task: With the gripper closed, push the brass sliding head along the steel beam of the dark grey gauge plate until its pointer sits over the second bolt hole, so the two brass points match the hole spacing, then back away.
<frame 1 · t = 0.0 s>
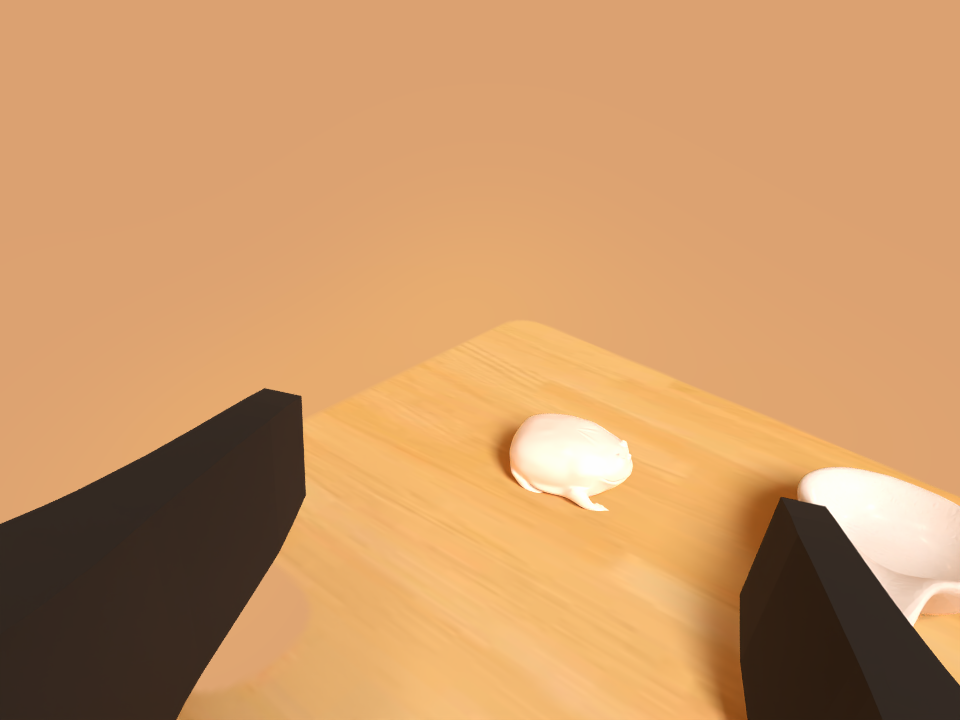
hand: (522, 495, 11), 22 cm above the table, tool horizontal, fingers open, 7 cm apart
spoon rest: (857, 630, 40), on the table
white rounded lump: (566, 479, 49), on the table
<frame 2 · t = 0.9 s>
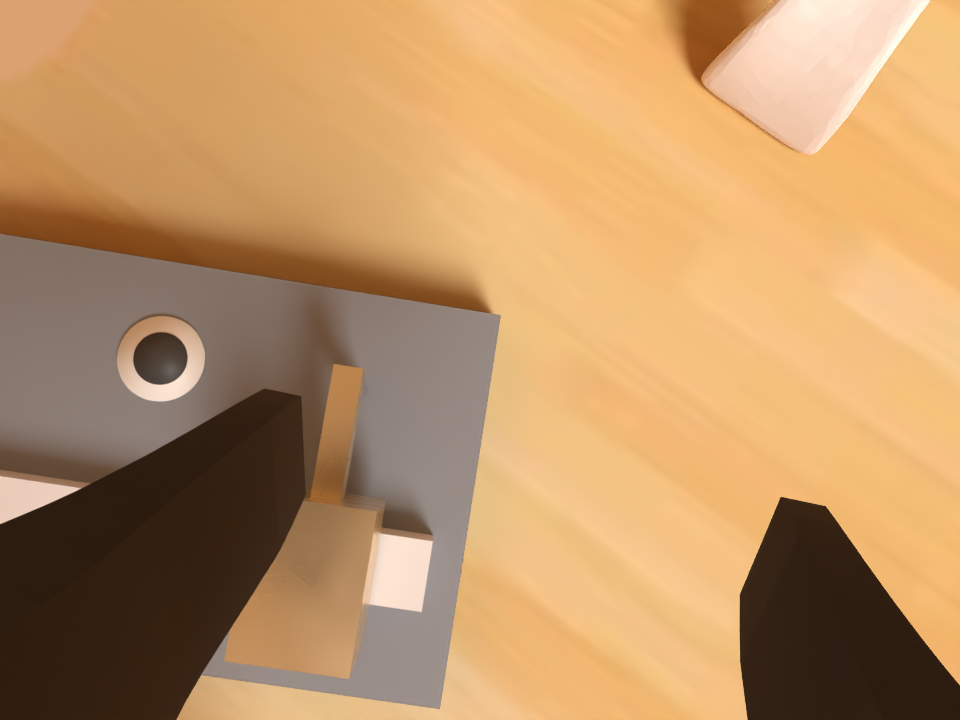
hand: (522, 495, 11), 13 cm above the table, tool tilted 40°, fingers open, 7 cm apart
gauge plate: (130, 450, 24), on the table
sliding trammel head: (327, 503, 20), point 4 cm above the table, slide at 0.0 cm
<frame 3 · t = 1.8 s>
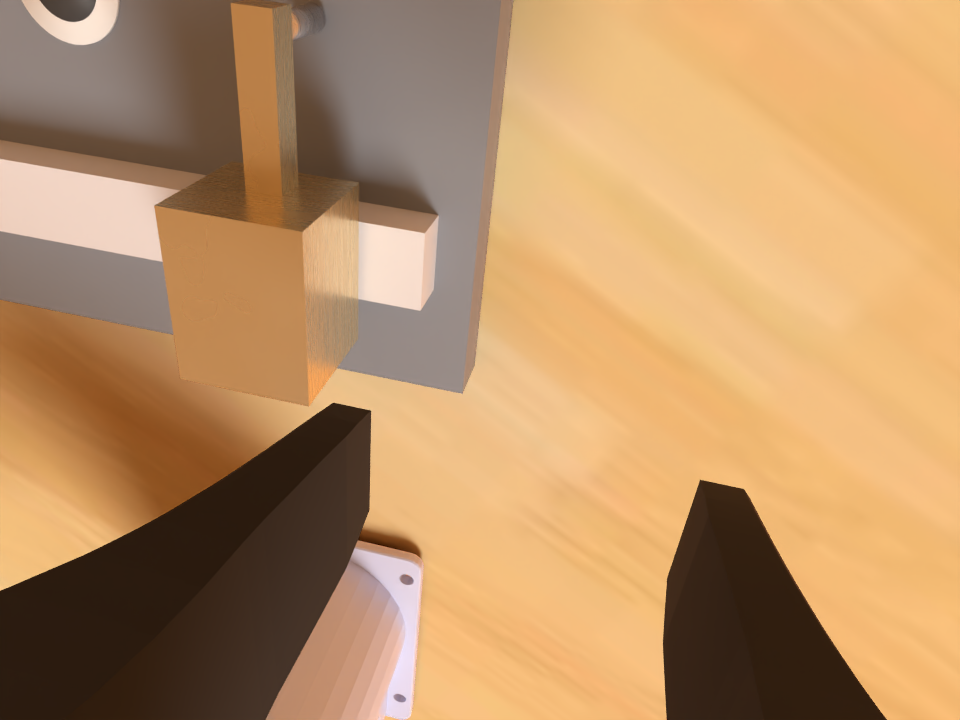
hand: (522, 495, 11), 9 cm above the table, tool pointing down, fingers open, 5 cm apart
gauge plate: (94, 98, 20), on the table
sliding trammel head: (277, 195, 16), point 4 cm above the table, slide at 0.0 cm
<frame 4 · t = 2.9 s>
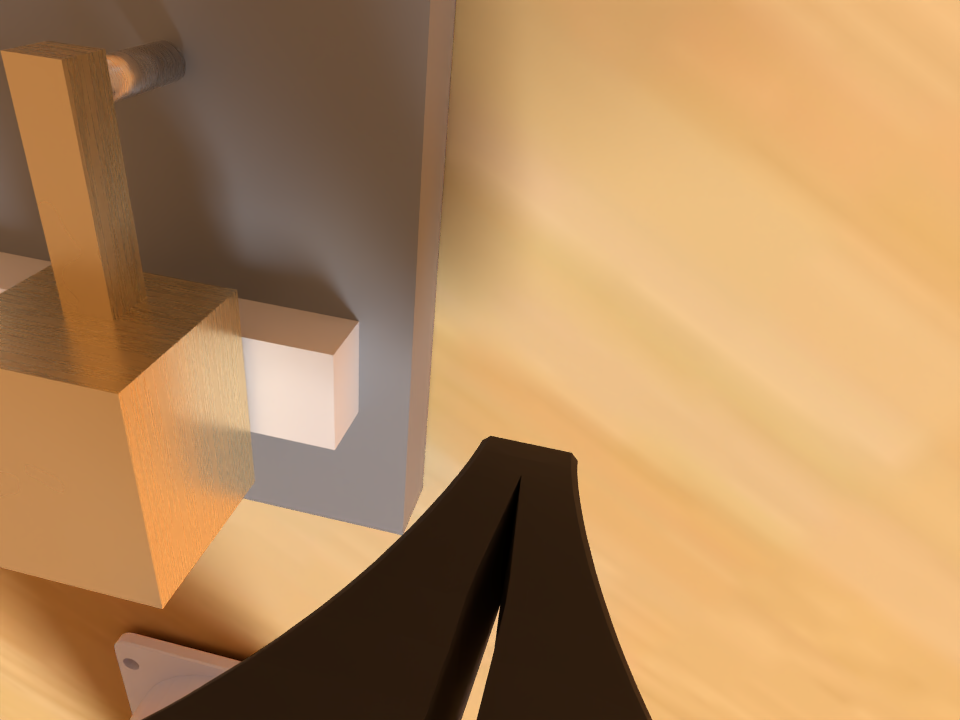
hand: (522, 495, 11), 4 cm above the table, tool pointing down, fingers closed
sliding trammel head: (117, 312, 11), point 4 cm above the table, slide at 0.0 cm
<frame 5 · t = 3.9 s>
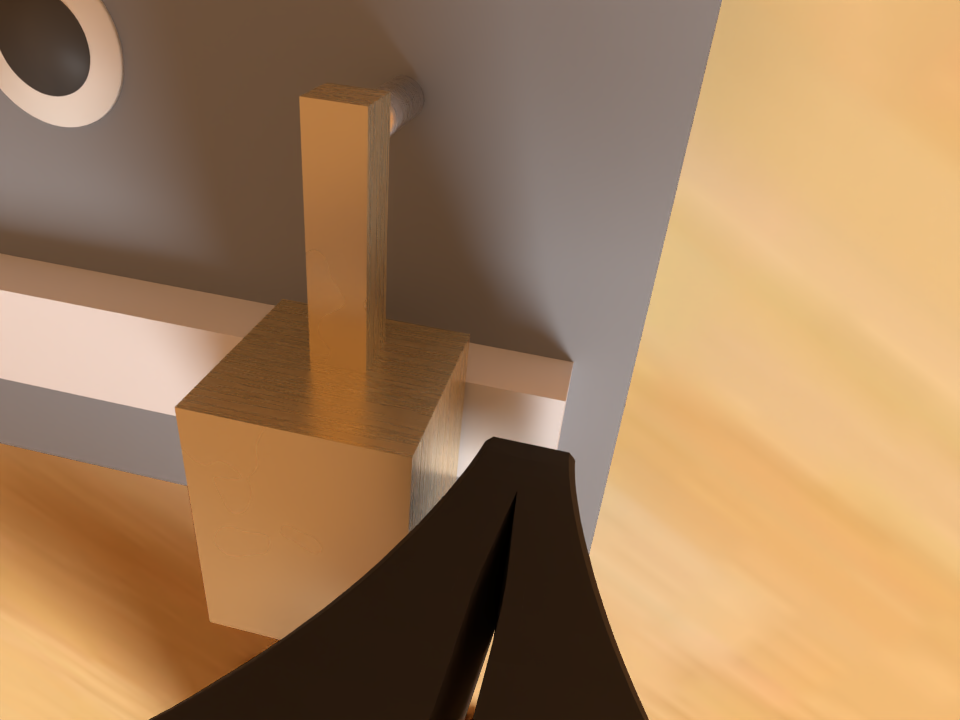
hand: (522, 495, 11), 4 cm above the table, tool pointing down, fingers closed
gauge plate: (89, 186, 15), on the table
sliding trammel head: (353, 359, 11), point 4 cm above the table, slide at 0.1 cm, touching gripper
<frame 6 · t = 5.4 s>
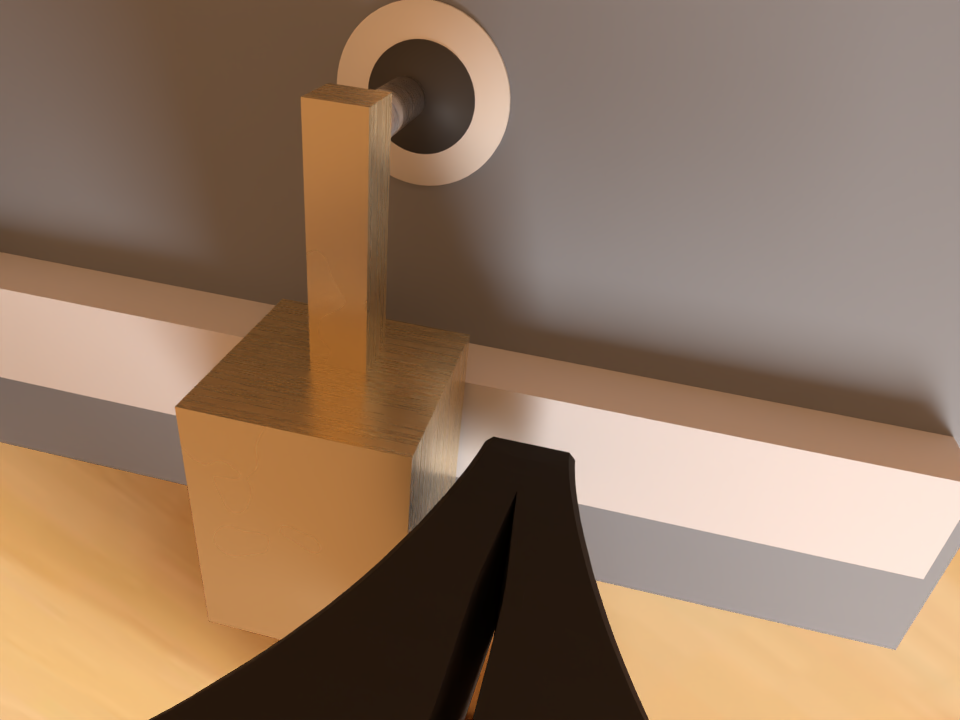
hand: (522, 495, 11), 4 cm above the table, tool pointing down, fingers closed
gauge plate: (385, 237, 14), on the table
sliding trammel head: (353, 360, 11), point 4 cm above the table, slide at 6.2 cm, touching gripper
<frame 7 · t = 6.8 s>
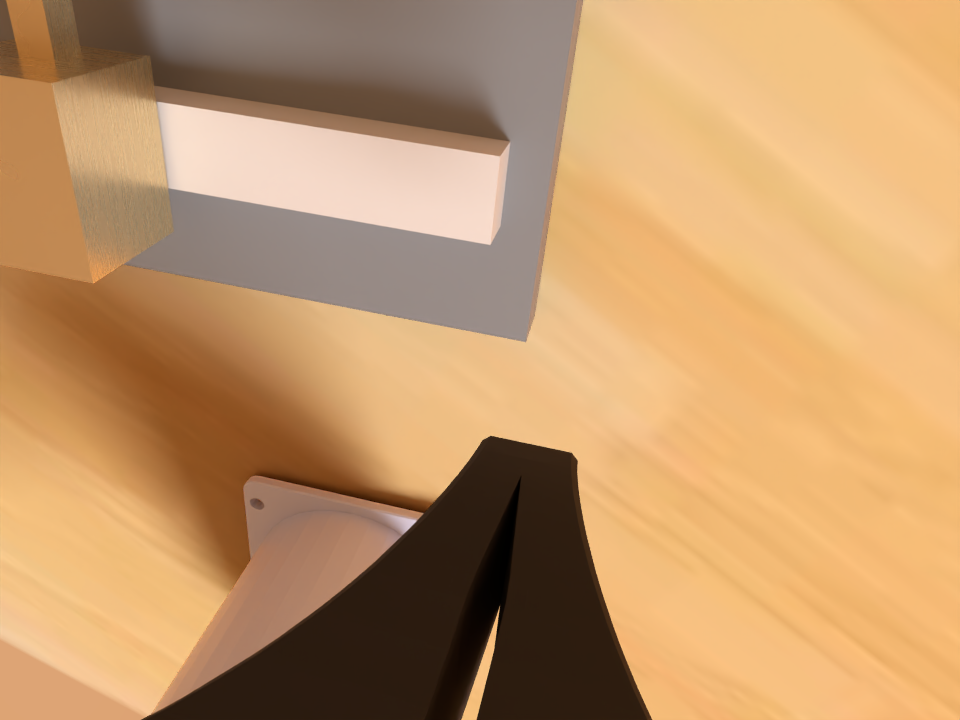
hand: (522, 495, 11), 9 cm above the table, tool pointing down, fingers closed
gauge plate: (134, 24, 18), on the table
sliding trammel head: (59, 65, 15), point 4 cm above the table, slide at 6.2 cm
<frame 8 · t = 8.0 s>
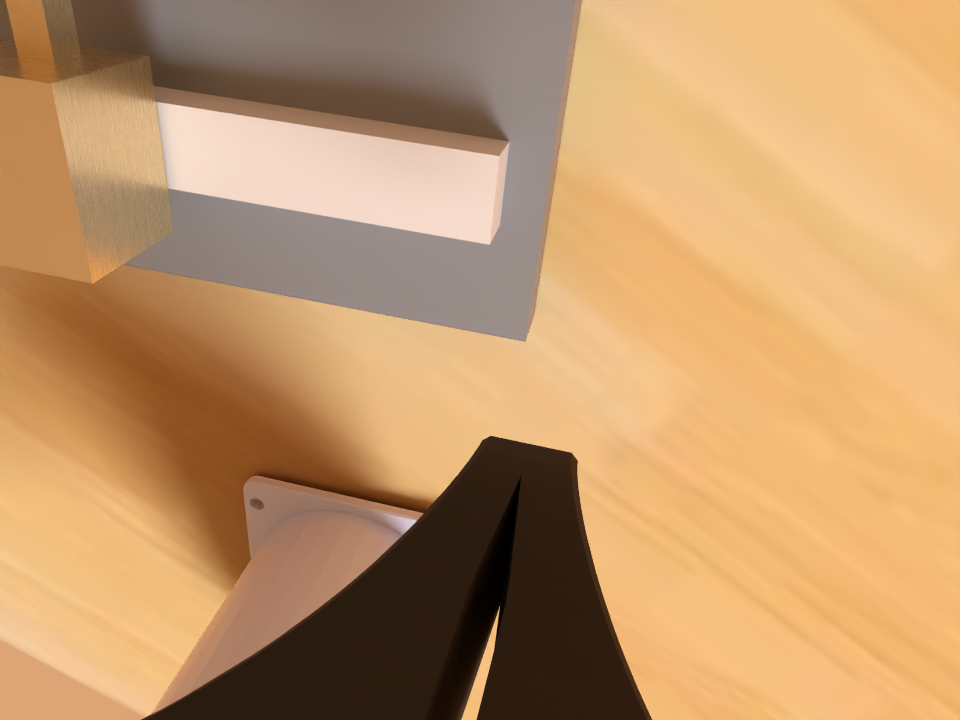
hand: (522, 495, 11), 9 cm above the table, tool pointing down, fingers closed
gauge plate: (133, 25, 18), on the table
sliding trammel head: (59, 66, 15), point 4 cm above the table, slide at 6.2 cm
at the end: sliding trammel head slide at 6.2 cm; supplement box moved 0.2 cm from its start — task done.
